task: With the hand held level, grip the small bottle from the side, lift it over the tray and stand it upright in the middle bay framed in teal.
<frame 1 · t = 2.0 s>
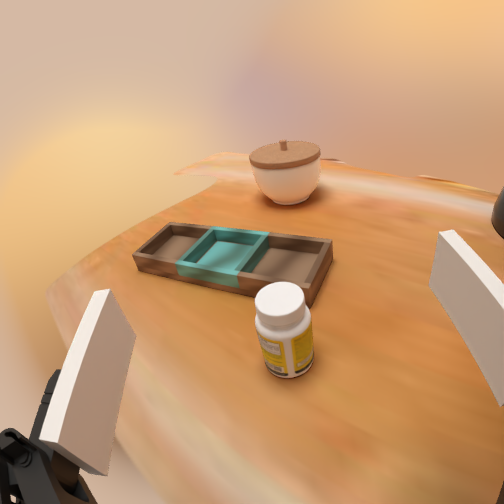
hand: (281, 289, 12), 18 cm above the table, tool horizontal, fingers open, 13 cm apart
tray: (227, 265, 45), on the table
lidded bowl: (290, 197, 60), on the table
supplement bottle: (289, 360, 30), on the table
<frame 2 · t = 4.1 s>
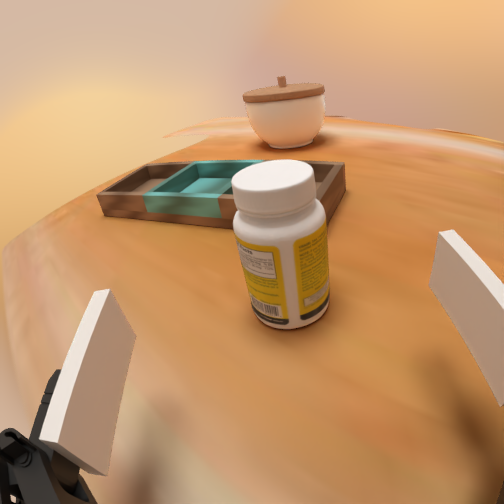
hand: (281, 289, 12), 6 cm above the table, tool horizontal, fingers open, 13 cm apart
tray: (210, 201, 34), on the table
lidded bowl: (291, 143, 49), on the table
supplement bottle: (290, 305, 20), on the table
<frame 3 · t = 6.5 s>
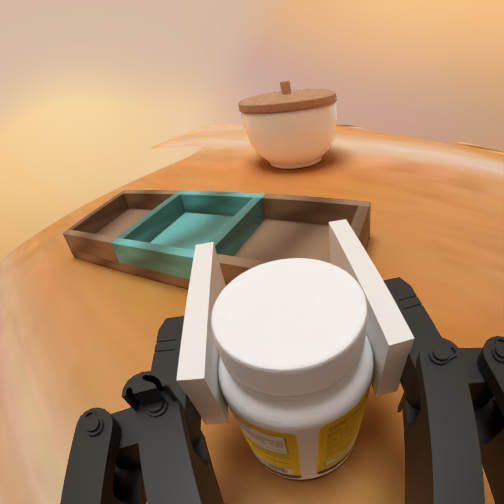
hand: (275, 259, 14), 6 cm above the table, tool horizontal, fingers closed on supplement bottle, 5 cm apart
tray: (196, 247, 27), on the table
lidded bowl: (295, 161, 42), on the table
supplement bottle: (303, 436, 13), on the table, touching gripper
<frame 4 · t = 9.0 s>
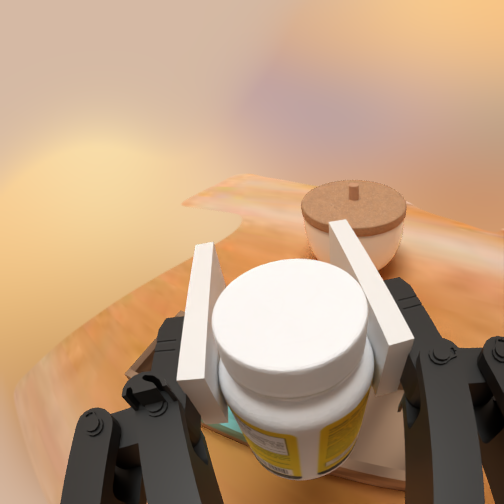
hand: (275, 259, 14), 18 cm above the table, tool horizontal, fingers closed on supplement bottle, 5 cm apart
tray: (278, 404, 26), on the table
lidded bowl: (353, 263, 41), on the table
supplement bottle: (303, 436, 13), point 12 cm above the table, touching gripper
when the fingers open (8 cm above the table, at t = 11.7 s): supplement bottle drops 1 cm, resting on tray.
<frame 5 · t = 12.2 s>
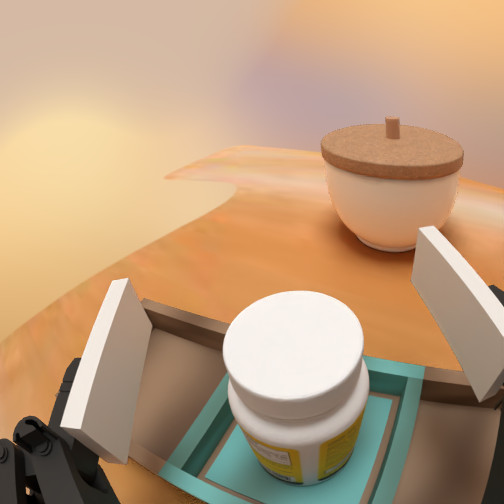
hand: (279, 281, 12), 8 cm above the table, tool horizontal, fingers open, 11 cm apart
tray: (304, 451, 14), on the table
lidded bowl: (390, 232, 29), on the table
supplement bottle: (304, 445, 13), point 1 cm above the table, touching tray
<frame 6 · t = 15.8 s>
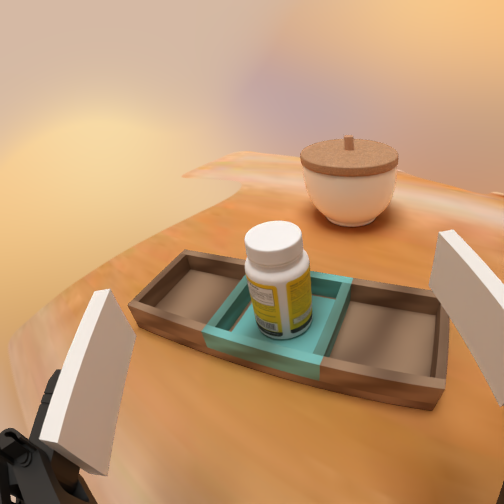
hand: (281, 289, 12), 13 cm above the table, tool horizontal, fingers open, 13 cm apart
tray: (284, 329, 27), on the table
lidded bowl: (350, 215, 42), on the table
supplement bottle: (284, 321, 27), point 1 cm above the table, touching tray
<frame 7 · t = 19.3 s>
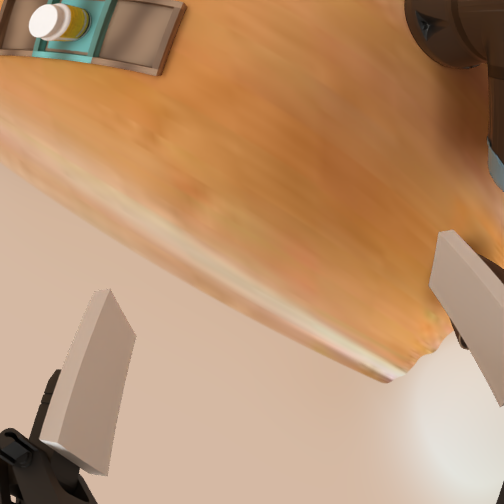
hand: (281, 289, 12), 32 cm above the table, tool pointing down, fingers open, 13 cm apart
plant pot: (451, 262, 53), on the table
tray: (79, 25, 28), on the table
supplement bottle: (76, 24, 27), point 1 cm above the table, touching tray
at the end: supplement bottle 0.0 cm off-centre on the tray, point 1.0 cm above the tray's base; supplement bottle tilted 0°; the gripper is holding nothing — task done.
